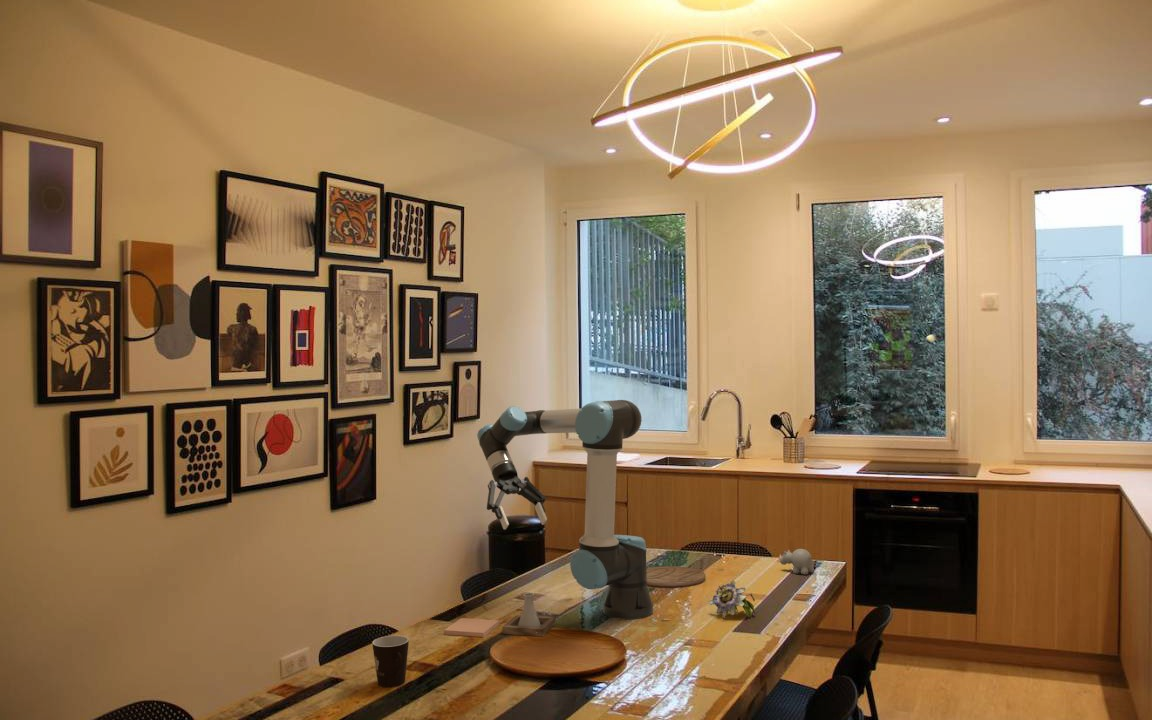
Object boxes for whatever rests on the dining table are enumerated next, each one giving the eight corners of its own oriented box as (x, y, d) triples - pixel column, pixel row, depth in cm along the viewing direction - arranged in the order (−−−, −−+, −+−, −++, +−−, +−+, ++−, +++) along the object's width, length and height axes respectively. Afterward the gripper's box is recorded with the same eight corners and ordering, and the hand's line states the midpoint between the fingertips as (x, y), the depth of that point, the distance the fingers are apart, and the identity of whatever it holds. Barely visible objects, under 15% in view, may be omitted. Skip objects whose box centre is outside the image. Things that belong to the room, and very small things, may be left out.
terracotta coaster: (499, 624, 257) (499, 620, 257) (483, 637, 245) (483, 632, 245) (461, 622, 260) (461, 618, 260) (444, 634, 249) (444, 630, 249)
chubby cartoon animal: (785, 567, 319) (784, 544, 319) (815, 572, 311) (815, 548, 311) (775, 571, 313) (774, 547, 314) (806, 576, 305) (805, 552, 306)
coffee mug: (375, 677, 215) (374, 636, 215) (411, 675, 216) (410, 634, 216) (368, 695, 204) (367, 651, 204) (406, 693, 205) (405, 649, 205)
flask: (538, 633, 248) (537, 597, 248) (513, 632, 249) (513, 597, 249) (544, 625, 255) (543, 591, 255) (520, 624, 256) (519, 590, 256)
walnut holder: (555, 623, 256) (555, 617, 256) (542, 636, 245) (542, 629, 245) (516, 621, 260) (516, 614, 260) (502, 633, 248) (502, 626, 248)
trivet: (717, 576, 310) (717, 570, 310) (686, 592, 289) (686, 586, 289) (653, 568, 324) (653, 563, 324) (620, 583, 303) (620, 578, 303)
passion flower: (725, 635, 259) (700, 601, 261) (738, 619, 268) (714, 586, 270) (753, 619, 253) (727, 584, 255) (765, 603, 262) (741, 569, 264)
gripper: (531, 472, 289) (555, 527, 277) (463, 478, 275) (485, 536, 263) (540, 458, 284) (564, 513, 273) (471, 463, 270) (494, 521, 259)
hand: (525, 524), depth 268 cm, fingers open, 13 cm apart
